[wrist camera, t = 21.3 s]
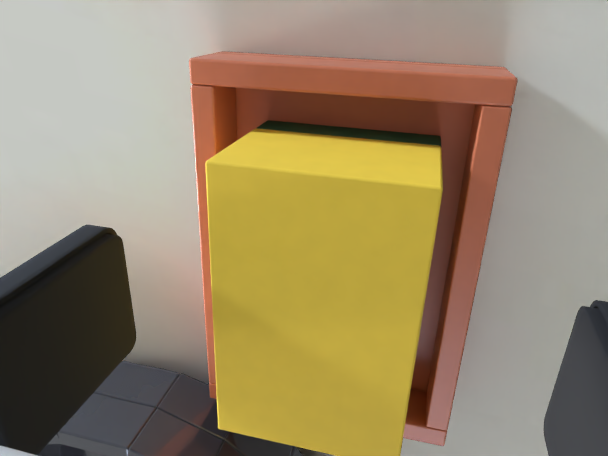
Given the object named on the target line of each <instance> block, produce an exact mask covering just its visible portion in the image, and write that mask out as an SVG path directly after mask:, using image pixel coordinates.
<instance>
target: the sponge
mask: <svg viewBox="0 0 608 456" xmlns="http://www.w3.org/2000/svg"><path fill="white" fill-rule="evenodd" d="M205 167H206V188H207V209H208V229H209V250H210V270H211V291H212V312H213V332H214V353H215V373H216V394H217V415H218V428H219V429H221V430H225V431H230V432H234V433H239V434H243V435H247V436H252V437H256V438H261V439H265V440H270V441H274V442H278V443H283V444H287V445H292V446H296V447H301V448H305V449H309V450H314V451H318V452H323V453H327V454H332V455H336V456H400V453H401V447H402V440H403V434H404V428H405V422H406V416H407V409H408V403H409V397H410V391H411V384H412V378H413V372H414V366H415V360H416V353H417V347H418V341H419V335H420V329H421V322H422V316H423V310H424V304H425V298H426V291H427V285H428V279H429V273H430V267H431V260H432V254H433V248H434V242H435V236H436V229H437V223H438V217H439V211H440V205H441V198H442V192H443V178H442V151H441V137H440V136H437V135H426V134H415V133H404V132H393V131H382V130H371V129H359V128H348V127H337V126H326V125H315V124H304V123H293V122H282V121H270V120H268V121H266V122H264V123H263V124H261V125H260V126H258V127H257V128H256V129H254V130H252V131H251V132H249V133H248V134H246V135H245V136H243V137H242V138H240V139H239V140H237V141H236V142H234V143H233V144H231V145H230V146H228V147H227V148H225V149H224V150H222V151H221V152H219V153H218V154H216V155H215V156H213V157H212V158H210V159H209V160H207V161H206V163H205Z"/></svg>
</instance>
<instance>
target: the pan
mask: <svg viewBox="0 0 608 456" xmlns="http://www.w3.org/2000/svg"><path fill="white" fill-rule="evenodd" d="M38 456H302V454H301V453H300V452H299V450H298V449H297V448H296V447H295V446H292V445H287V444H283V443H278V442H274V441H270V440H265V439H261V438H256V437H252V436H247V435H243V434H239V433H234V432H230V431H225V430H221V429H219V428H218V415H217V399H214V398H210V391H209V384H206V383H204V382H201V381H199V380H196V379H194V378H191V377H189V376H187V375H185V374H182V373H181V374H180V373H177V372H173V371H169V370H166V369H161V368H156V367H150V366H145V365H140V364H135V363H131V362H126V361H122V362H121V363H120V364H119V365H118V366H117V367H116V368H115V369H114V371H113V372H112V373H111V374H110V375H109V376H108V377H107V378H106V379H105V381H104V382H103V383H102V384H101V385H100V386H99V387H98V388H97V389H96V391H95V392H94V393H93V394H92V395H91V396H90V397H89V398H88V400H87V401H86V402H85V403H84V404H83V405H82V406H81V407H80V408H79V410H78V411H77V412H76V413H75V414H74V415H73V416H72V417H71V418H70V420H69V421H68V422H67V423H66V424H65V425H64V426H63V427H62V429H61V430H60V431H59V432H58V433H57V434H56V435H55V436H54V437H53V439H52V440H51V441H50V442H49V443H48V444H47V445H46V446H45V447H44V449H43V450H42V451H41V452H40V453H39V454H38Z"/></svg>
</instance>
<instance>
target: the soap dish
mask: <svg viewBox="0 0 608 456" xmlns="http://www.w3.org/2000/svg"><path fill="white" fill-rule="evenodd" d="M189 66H190V82H191V83H192V84H193V85H191V102H192V118H193V134H194V150H195V166H196V182H197V197H198V213H199V229H200V245H201V261H202V277H203V293H204V309H205V325H206V341H207V357H208V372H209V382H210V383H209V391H210V398H214V399H217V394H216V373H215V353H214V332H213V312H212V291H211V270H210V250H209V229H208V209H207V188H206V167H205V163H206V161H207V160H209V159H210V158H212V157H213V156H215V155H216V154H218V153H219V152H221V151H222V150H224V149H225V148H227V147H228V146H230V145H231V144H233V143H234V142H236V141H237V140H239V139H240V138H242V137H243V136H245V135H246V134H248V133H249V132H251V131H252V130H254V129H256V128H257V127H258V126H260V125H261V124H263V123H264V122H266V121H268V120H270V121H282V122H293V123H304V124H315V125H326V126H337V127H348V128H359V129H371V130H382V131H393V132H404V133H415V134H426V135H437V136H440V137H441V151H442V178H443V192H442V198H441V205H440V211H439V217H438V223H437V229H436V236H435V242H434V248H433V254H432V260H431V267H430V273H429V279H428V285H427V291H426V298H425V304H424V310H423V316H422V322H421V329H420V335H419V341H418V347H417V353H416V360H415V366H414V372H413V378H412V384H411V391H410V397H409V403H408V409H407V416H406V422H405V428H404V434H403V438H406V439H411V440H416V441H421V442H426V443H430V444H435V445H440V446H444V444H445V439H446V434H447V429H448V424H449V419H450V414H451V409H452V404H453V399H454V394H455V389H456V384H457V380H458V375H459V370H460V365H461V360H462V355H463V350H464V345H465V340H466V335H467V330H468V325H469V320H470V315H471V310H472V305H473V300H474V295H475V290H476V285H477V280H478V275H479V270H480V265H481V260H482V255H483V250H484V245H485V240H486V235H487V230H488V225H489V220H490V216H491V211H492V206H493V201H494V196H495V191H496V186H497V181H498V176H499V171H500V166H501V161H502V156H503V151H504V146H505V141H506V136H507V131H508V126H509V121H510V116H511V111H512V108H511V107H510V106H511V105H512V104H513V100H514V95H515V90H516V85H517V78H516V77H515V76H514V75H513V74H512V73H510V72H509V71H508V70H507V69H506V68H505V67H494V66H476V65H458V64H440V63H421V62H403V61H385V60H367V59H349V58H331V57H313V56H295V55H277V54H258V53H240V52H218V53H213V54H208V55H204V56H199V57H194V58H191V59H190V60H189Z"/></svg>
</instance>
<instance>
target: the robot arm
mask: <svg viewBox="0 0 608 456" xmlns="http://www.w3.org/2000/svg"><path fill="white" fill-rule="evenodd" d="M135 341H136V329H135V322H134V316H133V309H132V302H131V295H130V288H129V281H128V274H127V267H126V260H125V254H124V247H123V242H122V239H121V237H119V236H117V234H116V232H115V230H113V229H112V228H107V227H100V226H93V225H85V226H83V227H81V228H79V229H78V230H76V231H75V232H73V233H71V234H70V235H68V236H67V237H65V238H63V239H62V240H60V241H59V242H57V243H55V244H54V245H52V246H51V247H49V248H47V249H46V250H44V251H43V252H41V253H39V254H38V255H36V256H35V257H33V258H31V259H30V260H28V261H27V262H25V263H23V264H22V265H20V266H19V267H17V268H15V269H14V270H12V271H11V272H9V273H7V274H6V275H4V276H3V277H1V278H0V456H38V454H39V453H40V452H41V451H42V450H43V449H44V447H45V446H46V445H47V444H48V443H49V442H50V441H51V440H52V439H53V437H54V436H55V435H56V434H57V433H58V432H59V431H60V430H61V429H62V427H63V426H64V425H65V424H66V423H67V422H68V421H69V420H70V418H71V417H72V416H73V415H74V414H75V413H76V412H77V411H78V410H79V408H80V407H81V406H82V405H83V404H84V403H85V402H86V401H87V400H88V398H89V397H90V396H91V395H92V394H93V393H94V392H95V391H96V389H97V388H98V387H99V386H100V385H101V384H102V383H103V382H104V381H105V379H106V378H107V377H108V376H109V375H110V374H111V373H112V372H113V371H114V369H115V368H116V367H117V366H118V365H119V364H120V363H121V362H122V360H123V359H124V358H125V357H126V356H127V355H128V354H129V353H130V352H131V350H132V349H133V347H134V345H135ZM544 437H545V442H546V446H547V451H548V455H549V456H608V302H605V301H598V300H596V301H594V302H593V303H592V304H591V306H590V307H585V306H582V307H581V308H580V309H579V311H578V313H577V316H576V320H575V323H574V326H573V329H572V332H571V336H570V339H569V342H568V345H567V348H566V351H565V355H564V358H563V361H562V364H561V367H560V371H559V374H558V377H557V380H556V383H555V386H554V390H553V393H552V396H551V399H550V402H549V405H548V409H547V412H546V415H545V420H544Z"/></svg>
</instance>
